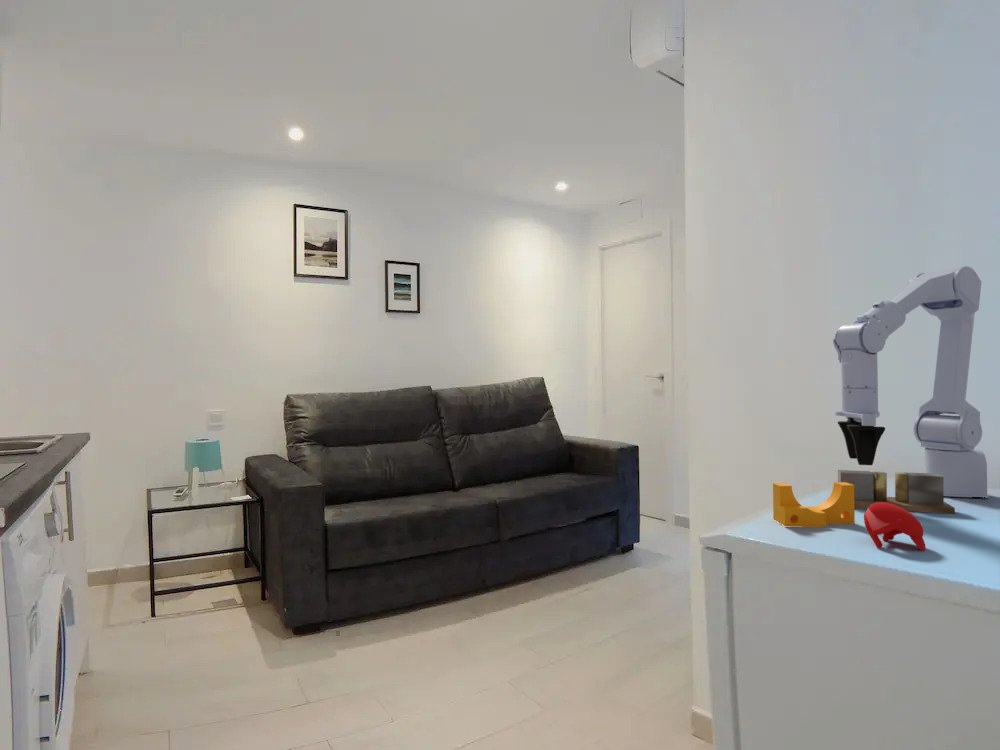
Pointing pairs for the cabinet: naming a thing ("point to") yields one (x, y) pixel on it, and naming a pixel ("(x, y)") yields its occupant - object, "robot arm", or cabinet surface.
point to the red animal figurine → (892, 523)
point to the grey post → (866, 484)
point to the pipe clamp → (814, 507)
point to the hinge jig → (916, 494)
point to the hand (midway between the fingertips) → (860, 461)
